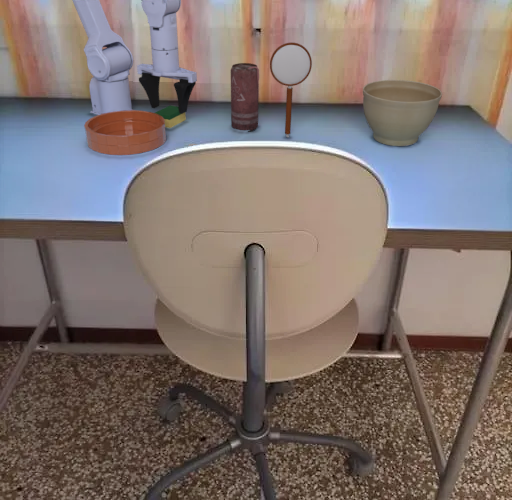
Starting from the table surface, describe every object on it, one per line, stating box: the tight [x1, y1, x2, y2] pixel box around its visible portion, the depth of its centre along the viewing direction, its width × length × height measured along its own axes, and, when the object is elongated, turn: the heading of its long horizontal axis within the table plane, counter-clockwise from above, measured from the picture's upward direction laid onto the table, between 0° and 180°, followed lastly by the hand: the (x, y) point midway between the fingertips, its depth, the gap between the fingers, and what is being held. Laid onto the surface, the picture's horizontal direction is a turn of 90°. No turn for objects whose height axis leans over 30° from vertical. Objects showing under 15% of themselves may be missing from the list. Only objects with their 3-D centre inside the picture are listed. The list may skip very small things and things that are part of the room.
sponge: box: [154, 104, 187, 129], centre depth 125 cm, size 6×4×3 cm, turn 153°
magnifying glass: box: [269, 42, 313, 139], centre depth 114 cm, size 9×2×20 cm, turn 92°
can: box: [230, 62, 260, 133], centre depth 120 cm, size 6×6×14 cm
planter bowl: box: [362, 79, 443, 147], centre depth 116 cm, size 16×16×11 cm
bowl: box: [83, 109, 167, 156], centre depth 114 cm, size 16×16×4 cm
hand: (169, 109), depth 124 cm, fingers open, 7 cm apart
